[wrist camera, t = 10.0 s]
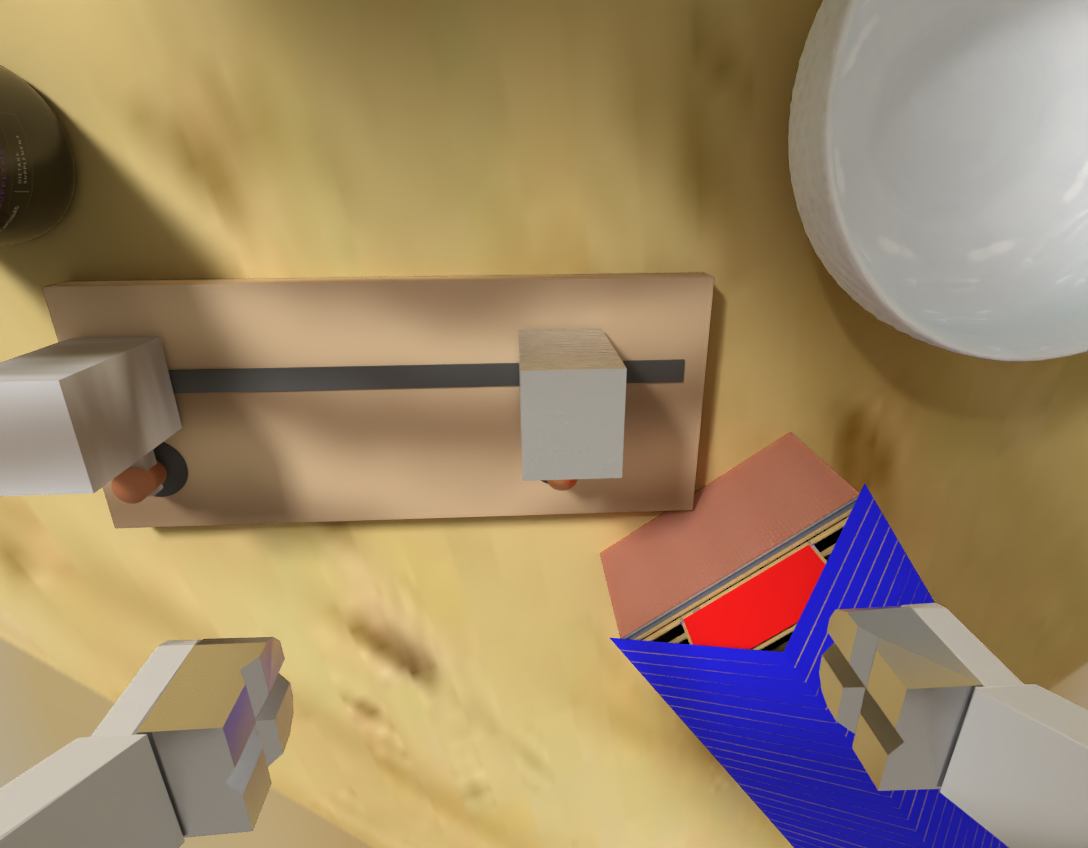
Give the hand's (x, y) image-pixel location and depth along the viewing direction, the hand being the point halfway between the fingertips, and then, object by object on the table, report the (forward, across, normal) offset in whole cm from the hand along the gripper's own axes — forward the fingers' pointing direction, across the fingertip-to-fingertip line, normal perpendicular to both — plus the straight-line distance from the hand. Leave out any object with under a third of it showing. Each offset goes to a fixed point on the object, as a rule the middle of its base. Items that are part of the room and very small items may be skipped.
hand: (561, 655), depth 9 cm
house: (+20, -14, +16) cm, 29 cm away
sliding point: (+18, -1, +3) cm, 18 cm away
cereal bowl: (+20, -18, -8) cm, 28 cm away
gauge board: (+20, +6, +3) cm, 21 cm away
